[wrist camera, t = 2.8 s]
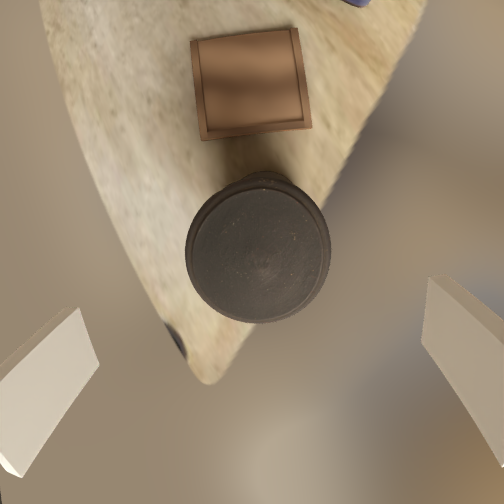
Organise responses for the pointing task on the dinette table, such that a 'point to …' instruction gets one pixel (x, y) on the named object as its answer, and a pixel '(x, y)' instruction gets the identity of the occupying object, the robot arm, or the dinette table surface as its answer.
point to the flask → (357, 2)
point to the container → (258, 249)
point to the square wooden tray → (250, 84)
